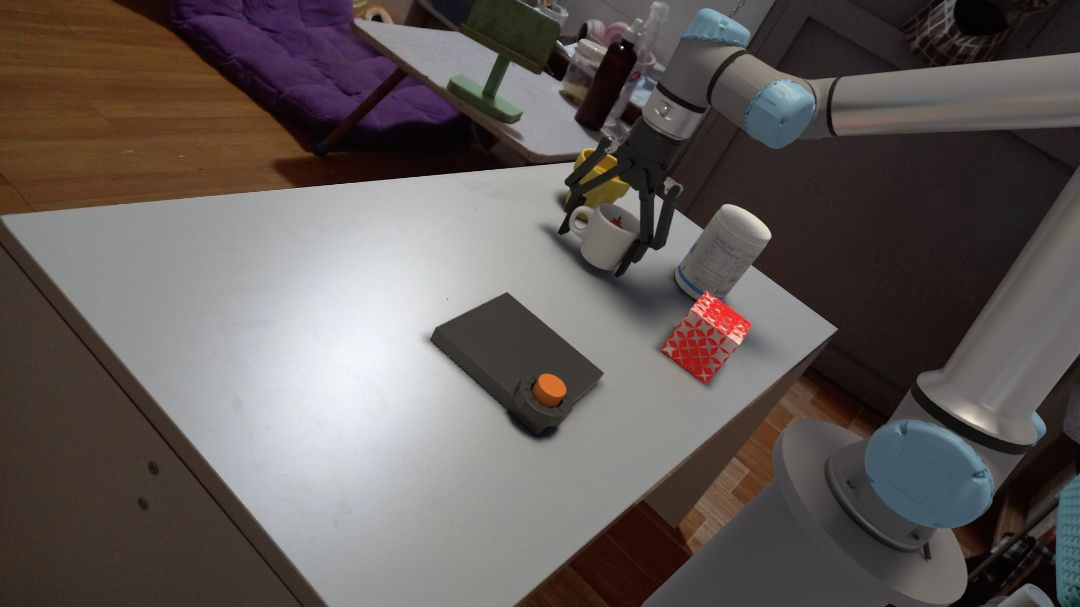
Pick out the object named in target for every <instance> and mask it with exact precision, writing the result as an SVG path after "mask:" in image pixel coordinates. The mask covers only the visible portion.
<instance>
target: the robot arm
mask: <svg viewBox="0 0 1080 607" xmlns="http://www.w3.org/2000/svg"><path fill="white" fill-rule="evenodd" d="M750 39H751V33H750V30H749V29H748V28H746V27H745V26H743V25H742V24H741V23H739V22H737V21H735V20H734V19H732V18H731V17H728V16H727V15H725V14H723V13H721V12H719V11H717V10H715V9H712V8H709V7H707V8H706V7H705V8H701V9H700V10H698V11H697V13H695V16H694V17H693V19H692V20H691V22H690V23H689V25H688V26H687V29H685V31H684V33H683V34H682V35H681V36H680V38H679V41H678V44H677V45H676V47H675V50H674V52H673V53H672V55H671V57H670V60H669V61H668V63H667V65H666V67H665V69H664V71H663V72H662V74H661V76H660V78H659V79H658V81H657V82H656V84H655V85H654V87H653V90H652V91H651V94H650V95H649V97H648V99H647V100H646V102H645V104H644V105H643V107H642V110H641V113H642V115H640V116H638V117H637V118H636V120H635V121H634V124H633V126H632V127H631V129H630V131H629V132H628V135H627V136H626V138H625V140H624V141H623V142H622V143H621V142H619V141H617V140H616V137H615V136H614V135H607V136H606V135H605V136H602V137H601V139H600V141H599V143H598V144H597V147H596V148H595V149H596V150H595V151H594V152H593V153H592V154H591V155H590V156H589V157H588V158H587V159H586V160H585V161H584V162H583V163H582V164H581V165H580V166H579V167H577V168H576V169H575V170H573V171H572V172H571V173H570V174H569V175H568V176H567V177H566V178H565V179H564V182H563V183H564V185H565V186H566V187H568V188H569V189H570V190H571V196H570V198H569V199H568V201H567V203H565V205H564V207H563V212H564V213H566V215H565V218H564V219H563V221H562V223H561V225H560V226H559V228H558V230H557V232H556V233H557V234H558V235H559V236H560V237H562V236H564V235H566V234H568V233H570V231H571V230H570V227H569V220H570V217H571V214H572V213H573V211H574V210H575V209H576V208H578V207H580V206H584V204H585V202H586V200H587V198H586V197H585V196H582V195H583V194H585V193H587V192H588V191H590V190H592V189H594V188H596V187H598V186H600V185H602V184H604V183H606V182H608V181H609V180H611V179H613V178H615V177H617V176H619V177H620V180H621V181H623V182H625V183H627V184H629V185H630V186H631V187H630V188H631V189H632V190H634V191H635V192H638V200H639V221H640V239H638V240H636V241H634V242H633V244H632V246H631V247H630V249H629V251H628V252H627V254H626V255H625V257H624V259H623V260H622V262H621V263H620V264H619V265H618V266H617V267H616V270H615V271H614V273H613V274H612V276H613V277H614V278H616V279H618V278H620V277H622V276H624V275H625V273H626V272H627V271H628V269H629V267H630V265H631V264H634V265H635V264H637V263H639V262H640V261H642V259H643V257H644V256H645V255H646V253H647V251H648V250H649V249H652V251H654V252H655V251H656V252H657V251H659V250H661V249H662V248H664V247H666V245H667V241H668V237H669V234H670V230H671V226H672V222H673V219H674V215H675V211H676V206H677V204H678V199H679V198H680V197H681V195H682V193H683V192H684V191H685V187H686V186H685V184H684V183H682V182H679V183H678V182H676V181H675V180H674V179H672V178H671V177H670V172H671V169H672V167H673V165H674V164H675V163H676V161H677V159H678V157H679V156H680V154H681V152H682V151H683V150H684V147H685V146H686V140H687V139H689V138H691V137H692V134H693V133H694V131H695V129H696V128H697V126H698V125H699V122H700V121H701V119H702V118H703V116H704V114H705V113H706V111H707V110H708V109H709V106H711V107H712V108H714V109H715V110H716V111H718V112H719V113H720V114H721V115H723V116H724V117H725V118H727V119H728V120H730V121H731V122H732V123H733V124H735V125H736V126H738V127H739V128H740V129H742V130H743V131H744V132H745V133H747V134H748V135H749V137H750V138H752V139H753V140H756V141H759V142H761V143H762V144H764V145H765V146H767V147H768V148H771V149H772V150H773V149H774V150H780V149H782V148H784V147H786V146H787V145H791V144H792V143H793V142H795V140H799V141H813V140H818V139H822V138H836V137H851V136H852V137H854V136H855V137H856V136H858V137H859V136H879V135H882V136H883V135H906V134H908V135H909V134H930V133H934V134H935V133H955V132H980V131H982V132H983V131H985V132H986V131H1004V130H1006V131H1007V130H1010V131H1011V130H1030V129H1031V130H1032V129H1033V130H1034V129H1056V128H1059V129H1060V128H1080V52H1073V53H1064V54H1054V55H1043V56H1033V57H1025V58H1024V57H1023V58H1013V59H1003V60H995V61H984V62H975V63H965V64H956V65H946V66H936V67H926V68H925V67H924V68H918V69H917V68H916V69H915V68H914V69H907V70H897V71H896V70H895V71H886V72H876V73H867V74H855V75H849V76H841V77H840V76H839V77H827V78H817V79H806V78H802V77H798V76H795V75H792V74H790V73H789V74H788V73H785V72H782V71H779V70H777V69H775V68H774V67H772V66H770V65H769V64H767V63H765V62H763V61H762V60H761V59H759V58H758V57H756V56H754V55H753V54H751V53H750V52H749V51H748V50H747V46H748V43H749V41H750ZM614 152H616V153H615V154H616V159H617V165H616V166H615V167H613V168H611V169H609V170H607V171H606V172H604V173H602V174H600V175H598V176H597V177H595V178H593V179H591V180H589V181H587V182H585V183H584V184H582V185H581V184H580V183H579V182H580V181H581V180H582V179H583V178H584V177H585V176H586V175H587V174H588V173H589V172H590V171H591V170H592V169H593V168H594V167H595V166H596V165H597V164H598V163H599V162H601V161H602V160H603V159H604V158H605V157H606V156H607V155H608V154H609V155H611V154H613V153H614ZM660 185H664V190H663V193H664V195H665V196H664V198H663V200H662V205H661V207H660V208H661V209H660V212H659V217H658V221H657V223H656V224H657V225H656V228H655V198H656V195H657V194H656V193H657V192H656V191H657V186H660ZM578 215H579V214H578ZM578 215H577V217H576V218H575V221H576V220H577V218H579V217H578ZM1079 355H1080V164H1079V165H1078V166H1077V168H1076V169H1075V171H1074V173H1073V174H1072V176H1071V177H1070V178H1069V180H1068V181H1067V182H1066V184H1065V186H1064V188H1063V189H1061V192H1060V193H1059V195H1058V196H1057V198H1056V199H1055V201H1054V203H1053V204H1051V207H1050V208H1049V210H1048V211H1047V212H1046V214H1045V216H1044V217H1043V219H1042V220H1041V221H1040V223H1039V225H1038V226H1037V228H1036V229H1035V230H1034V232H1033V233H1032V235H1031V236H1030V238H1029V240H1028V241H1027V243H1025V246H1024V247H1023V249H1021V251H1020V253H1019V254H1018V256H1017V257H1016V259H1015V260H1014V261H1013V263H1012V265H1011V266H1010V268H1009V269H1008V271H1007V272H1006V274H1005V275H1004V277H1003V279H1002V280H1001V282H1000V283H999V284H998V286H997V287H996V289H995V290H994V292H993V293H992V295H991V296H990V298H989V299H988V301H987V302H986V303H985V305H984V306H983V308H982V309H981V311H980V313H979V314H978V315H977V317H976V319H975V320H974V322H973V323H972V324H971V326H970V327H969V329H968V330H967V331H966V333H965V335H964V336H963V338H962V339H961V341H960V342H959V344H958V346H957V347H956V348H955V350H954V351H953V353H952V354H951V356H950V357H949V359H948V360H947V361H946V363H945V365H944V366H943V367H942V368H940V369H935V370H928V371H923V372H921V373H920V374H919V375H918V376H917V378H916V379H915V381H914V382H913V383H912V385H911V386H910V388H909V390H908V391H907V393H905V396H904V397H903V398H902V400H901V402H900V403H899V404H898V406H897V407H896V409H895V410H894V412H893V414H892V415H891V417H890V418H889V419H888V421H887V422H886V423H884V424H883V425H881V426H880V427H879V428H877V429H876V430H875V431H874V433H873V434H872V435H871V436H869V437H866V438H863V440H861V441H858V442H856V443H853V444H851V445H848V446H846V447H843V448H841V449H839V450H837V451H836V452H835V453H834V454H832V455H831V456H830V457H829V458H828V459H827V460H826V462H825V466H824V472H825V477H826V481H827V483H828V486H829V488H830V490H831V492H832V494H833V495H834V497H835V499H836V500H837V502H838V503H839V505H840V506H841V507H842V509H843V510H844V511H845V512H846V513H847V515H848V516H849V517H850V518H851V519H852V520H853V521H854V522H855V523H856V524H857V525H858V526H859V527H860V528H861V529H862V530H864V531H865V532H866V533H867V534H869V535H870V536H871V537H873V538H874V539H875V540H877V541H878V542H880V543H882V544H883V545H885V546H887V547H889V548H891V549H894V550H896V551H900V552H905V553H912V552H915V551H917V550H919V549H920V548H922V547H923V550H924V555H925V559H927V560H930V559H932V558H931V553H930V548H929V540H930V539H931V538H932V536H933V535H934V533H935V531H936V530H937V528H951V529H954V528H959V527H964V526H966V525H968V524H970V523H972V522H973V521H975V520H977V519H978V518H979V517H981V516H983V515H984V514H985V513H986V512H987V511H988V510H989V509H990V507H991V505H992V504H993V498H994V496H995V493H996V492H997V491H998V489H999V488H1000V487H1001V485H1003V483H1004V482H1005V480H1006V479H1007V478H1008V476H1009V475H1010V474H1011V473H1012V471H1013V470H1014V469H1015V468H1016V466H1017V465H1018V464H1019V462H1021V460H1022V459H1023V458H1024V456H1025V455H1026V454H1027V453H1028V451H1029V450H1030V449H1031V448H1032V447H1035V446H1036V445H1037V442H1039V440H1041V439H1042V438H1043V437H1044V436H1045V435H1046V433H1047V426H1046V424H1045V422H1044V421H1043V419H1042V418H1041V417H1040V415H1039V414H1038V413H1037V412H1036V410H1037V409H1038V408H1039V407H1040V406H1041V404H1042V403H1043V401H1045V399H1046V398H1047V396H1048V395H1049V394H1050V392H1051V391H1052V390H1053V388H1054V387H1055V386H1056V385H1057V384H1058V382H1059V381H1060V380H1061V378H1062V377H1063V376H1064V374H1065V373H1066V372H1067V370H1068V369H1069V368H1070V366H1071V365H1072V364H1073V363H1074V361H1075V360H1076V358H1077V357H1078V356H1079Z"/></svg>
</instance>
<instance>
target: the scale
mask: <svg viewBox="0 0 1080 607" xmlns="http://www.w3.org/2000/svg"><path fill="white" fill-rule="evenodd" d="M429 339H430V341H431V342H432V343H433V344H434V345H436V346H437V347H438V348H439V350H441V351H442V352H443V353H445V354H446V355H447V356H448V357H449V358H450V359H451V360H452V361H454V362H455V363H456V364H457V365H458V366H459V367H460V368H461V369H463V371H464V372H466V373H467V374H468V375H469V376H470V377H471V378H473V380H475V381H476V382H477V383H478V385H480V386H481V387H483V388H484V389H485V390H486V391H487V392H488V393H489V394H490V395H492V396H493V397H494V398H495V399H496V400H497V401H498V402H499V403H500V404H501V405H502V406H503V407H505V408H506V409H507V410H508V411H509V412H510V413H512V414H513V415H514V416H515V417H516V418H517V419H518V420H519V421H520V422H521V423H522V424H523V425H525V426H526V427H527V428H528V429H529V430H530V431H531V432H533V433H534V434H535V435H536V436H539V435H540V434H542V433H543V431H544V430H546V429H547V428H548V427H558V426H560V425H561V424H562V423H564V422H565V421H566V420H567V418H568V417H569V416H570V414H571V413H572V411H573V405H574V404H575V403H577V402H578V401H579V400H580V399H581V398H582V397H583V396H585V395H586V394H587V393H588V392H589V391H590V390H592V389H593V388H594V387H595V386H596V385H597V384H598V383H599V382H600V380H601V379H602V378H603V376H604V374H605V372H604V371H603V370H602V369H601V368H599V367H598V366H597V365H596V364H594V363H593V362H592V361H591V360H589V358H588V357H586V356H585V355H584V354H582V353H581V352H580V351H579V350H577V349H576V348H575V347H574V346H573V345H571V344H570V343H569V342H568V341H567V340H565V339H564V338H563V337H562V336H561V335H560V334H558V333H557V331H555V330H554V329H552V328H551V326H549V325H547V324H546V323H545V322H544V321H542V319H540V318H539V317H538V316H537V315H536V314H534V313H533V312H532V311H531V310H530V309H528V308H527V306H525V305H523V304H522V303H521V302H520V301H519V300H517V299H516V298H515V297H514V296H513V295H511V294H510V293H509V292H508V291H506V292H505V293H502V294H500V295H498V296H496V297H494V298H492V299H490V300H488V301H486V302H484V303H482V304H480V305H478V306H476V307H474V308H472V309H470V310H468V311H465V312H464V313H462V314H460V315H458V316H455V317H453V318H451V319H449V320H448V321H446V322H444V323H441V324H440V325H437V326H435V328H434V330H433V332H432V334H431V336H430V338H429ZM543 374H552V375H554V376H556V377H558V378H559V379H560V380H561V381H562V382H563V383H564V384H565V387H566V394H565V395H564V397H563V398H562V400H561V401H560V403H559V404H558V405H557V406H556V407H552V408H551V407H546V406H544V405H541V404H540V403H539V402H538V401H537V400H536V399H535V398H534V397H533V395H532V388H533V386H534V385H535V383H536V382H537V380H538V378H539V377H540V376H541V375H543Z"/></svg>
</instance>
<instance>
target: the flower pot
mask: <svg viewBox="0 0 1080 607" xmlns="http://www.w3.org/2000/svg"><path fill="white" fill-rule="evenodd" d="M596 149H597V148H590V147H587V148H584V149H582V150H581V151H580V153H579V154H578V157H576V158H577V159H576V160H575V162H574V165H573V166H572V167H573V171H574V170H575V169H576V168H577V167H579V166H580V165H581V164H582V163H583V162H584V161H585V160H586V159H587V158H588V157H589V156H590V155H591V154H592V153H593V152H594V151H595V150H596ZM616 165H617V157H614V156H613V155H611V154H608V155H607V156H606V157H605V158H604V159H603V160H602V161H601V162H599V163H598V164H597V165H596V166H595V167H594V168H593V169H592V170H591V171H590V172H589V173H588V174H587V175H586V176H585V177H584V178H583V179H582V180H581V181H580V182H579V183H580V184H581V185H582V184H584V183H585V182H587V181H589V180H591V179H593V178H595V177H597V176H598V175H600V174H602V173H604V172H606V171H607V170H609V169H611V168H613V167H615V166H616ZM631 188H632V187H631V186H630V185H629V184H627V183H625V182H623V181H621V180H620V177H619V176H617V177H615V178H613V179H611V180H609V181H608V182H606V183H604V184H602V185H600V186H598V187H596V188H594V189H592V190H590V191H588V192H587V193H585V194H583V195H582V196H585V197H586V198H587V200H586V202H585V204H584V206H586V207H590V208H593V209H596V208H597V206H598V205H599V204H602V203H609V204H613V205H614V203H615V202H616V201H617V200H618V199H622V198H623V197H625V196H626V195H627V193H628V191H629V190H630V189H631ZM570 196H571V190H570V188H569V189H568V193H567V195H566V199H565V204H566V203H567V201H568V199H569V198H570ZM577 218H579V219H581V220H583V221H586V222H588V216H587V215H586V214H585V213H580V214H579V215H578V217H577Z"/></svg>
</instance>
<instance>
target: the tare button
mask: <svg viewBox="0 0 1080 607" xmlns="http://www.w3.org/2000/svg"><path fill="white" fill-rule="evenodd" d="M565 394H566V387H565V384H564V383H563V382H562V381H561V380H560V379H559V378H558V377H556V376H554V375H552V374H543V375H541V376H540V377H539V378H538V380H537V382H536V383H535V385H534V386H533V388H532V395H533V397H534V398H535V399H536V400H537V401H538V402H539V403H540V404H541V405H544V406H546V407H551V408H552V407H556V406H557V405H558V404H559V403H560V401H561V400H562V398H563V397H564V395H565Z"/></svg>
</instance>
